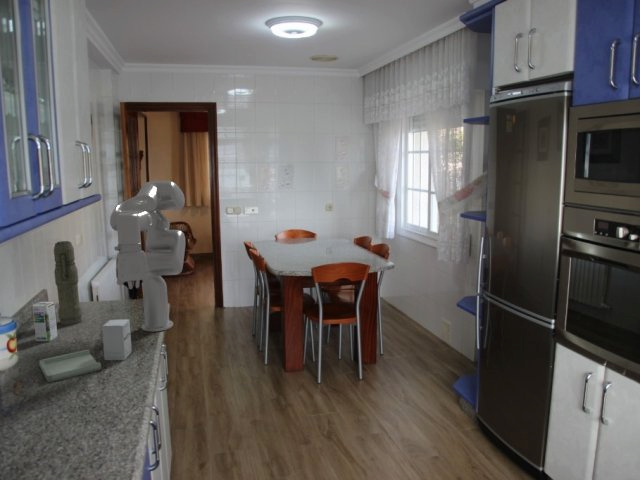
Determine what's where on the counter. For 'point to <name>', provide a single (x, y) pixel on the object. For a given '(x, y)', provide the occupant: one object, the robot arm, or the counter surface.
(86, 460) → the counter surface
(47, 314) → the syrup box
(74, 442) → the counter surface
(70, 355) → the tray
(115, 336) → the supplement box
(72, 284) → the stone figurine
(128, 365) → the counter surface
